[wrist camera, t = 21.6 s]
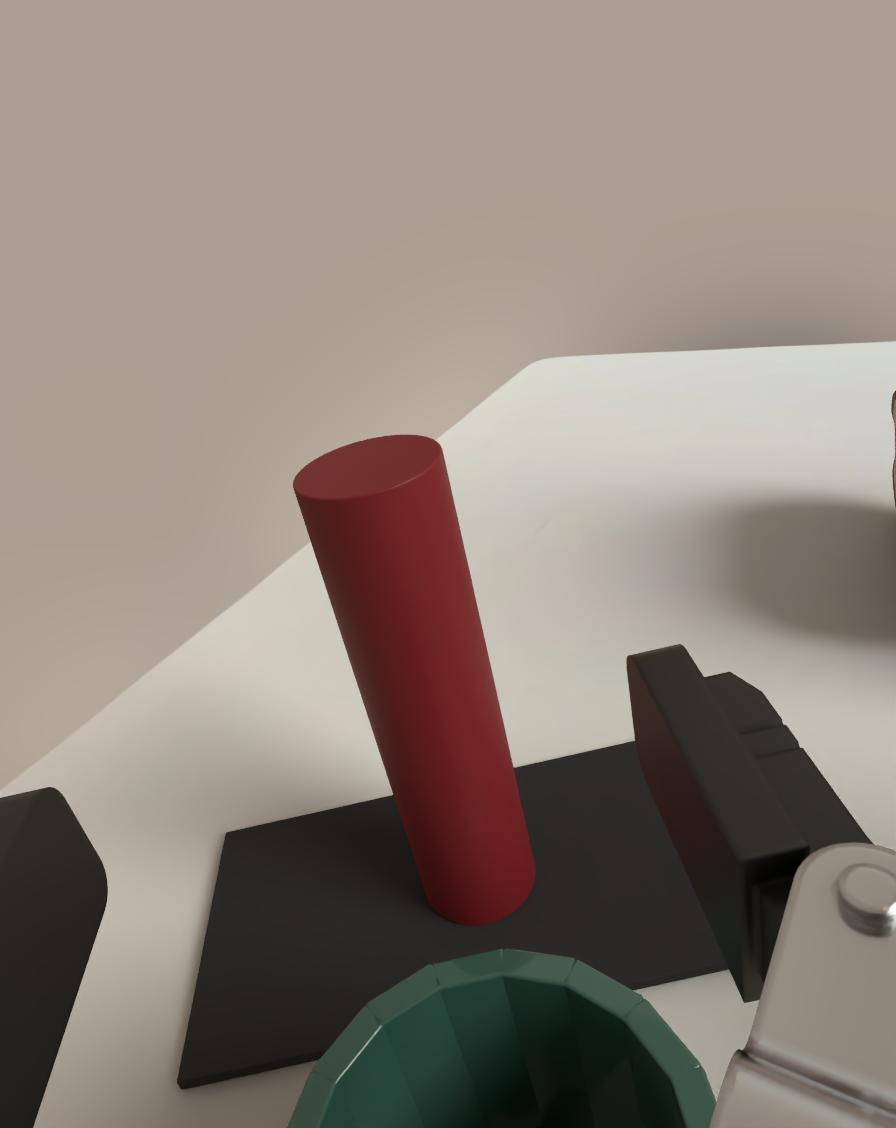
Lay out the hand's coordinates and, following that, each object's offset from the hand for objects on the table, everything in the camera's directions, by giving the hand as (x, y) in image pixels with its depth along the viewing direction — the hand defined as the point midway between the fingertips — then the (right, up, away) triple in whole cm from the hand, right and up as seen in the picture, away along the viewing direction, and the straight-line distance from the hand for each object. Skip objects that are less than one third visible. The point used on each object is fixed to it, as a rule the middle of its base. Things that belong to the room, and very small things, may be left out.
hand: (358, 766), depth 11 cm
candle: (+2, -8, +17) cm, 19 cm away
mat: (+2, -9, +18) cm, 20 cm away
